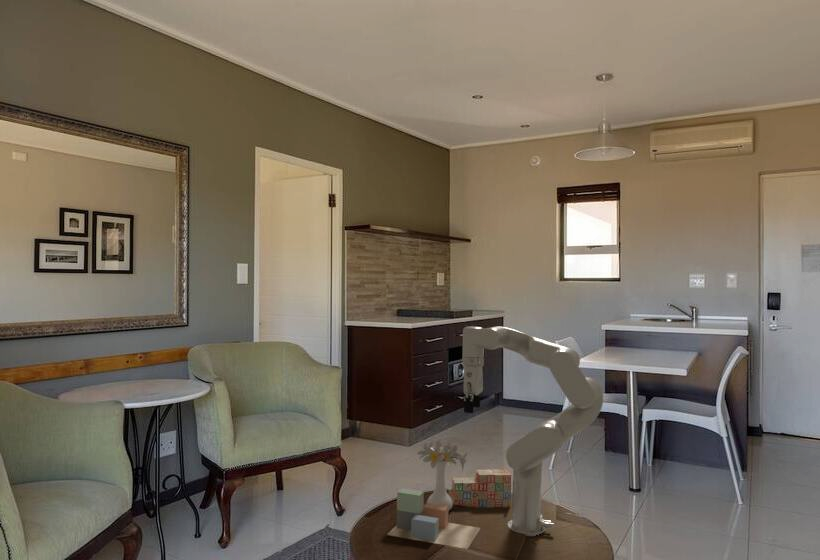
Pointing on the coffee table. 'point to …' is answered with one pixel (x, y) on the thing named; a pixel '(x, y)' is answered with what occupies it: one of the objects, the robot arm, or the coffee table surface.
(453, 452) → the flower vase
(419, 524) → the dusty blue brick
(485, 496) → the stack of blocks
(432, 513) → the terracotta brick
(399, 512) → the charcoal brick
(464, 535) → the birch board
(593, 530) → the coffee table surface
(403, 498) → the sage brick
